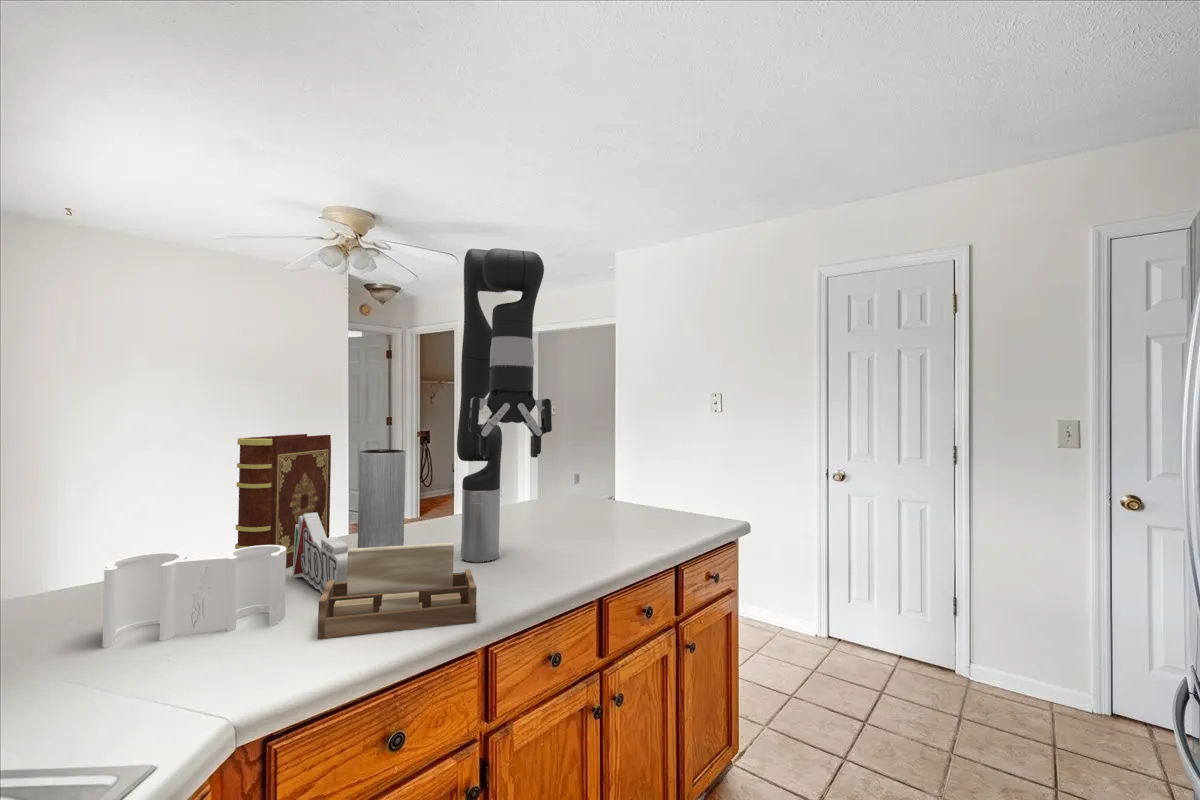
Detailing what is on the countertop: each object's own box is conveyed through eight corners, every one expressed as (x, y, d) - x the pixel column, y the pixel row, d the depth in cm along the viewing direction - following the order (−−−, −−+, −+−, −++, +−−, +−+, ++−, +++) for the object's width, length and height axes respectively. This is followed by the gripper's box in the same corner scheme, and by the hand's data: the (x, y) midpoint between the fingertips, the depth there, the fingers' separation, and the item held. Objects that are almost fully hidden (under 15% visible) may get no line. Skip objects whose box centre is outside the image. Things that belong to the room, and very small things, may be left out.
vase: (408, 569, 128) (410, 451, 128) (362, 576, 123) (364, 453, 123) (397, 559, 136) (399, 448, 137) (353, 565, 131) (355, 450, 131)
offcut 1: (335, 627, 95) (335, 601, 95) (373, 623, 97) (373, 597, 97) (332, 634, 92) (333, 606, 92) (372, 629, 94) (372, 603, 94)
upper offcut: (382, 606, 97) (382, 594, 97) (418, 603, 99) (418, 591, 99) (381, 611, 95) (381, 599, 95) (418, 608, 96) (418, 596, 96)
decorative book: (259, 578, 120) (262, 439, 120) (228, 575, 122) (231, 438, 122) (329, 552, 142) (332, 434, 142) (302, 549, 144) (305, 433, 144)
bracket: (288, 607, 104) (289, 542, 104) (281, 626, 95) (283, 555, 95) (118, 626, 94) (120, 554, 94) (93, 650, 85) (95, 570, 85)
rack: (328, 613, 101) (328, 580, 101) (469, 600, 109) (469, 569, 109) (317, 639, 90) (318, 601, 90) (475, 622, 98) (476, 587, 98)
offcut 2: (430, 617, 100) (430, 595, 100) (459, 614, 101) (459, 592, 101) (430, 623, 97) (431, 600, 97) (460, 620, 99) (460, 597, 99)
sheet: (347, 615, 100) (349, 548, 100) (451, 605, 106) (452, 542, 106) (346, 620, 98) (347, 552, 98) (452, 610, 103) (453, 545, 104)
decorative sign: (349, 611, 108) (354, 535, 107) (334, 615, 106) (339, 537, 105) (305, 574, 124) (309, 507, 123) (292, 576, 122) (296, 509, 121)
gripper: (544, 367, 103) (543, 455, 103) (466, 364, 98) (465, 456, 98) (557, 365, 96) (555, 459, 96) (474, 361, 91) (472, 461, 91)
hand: (510, 457), depth 97 cm, fingers open, 8 cm apart
